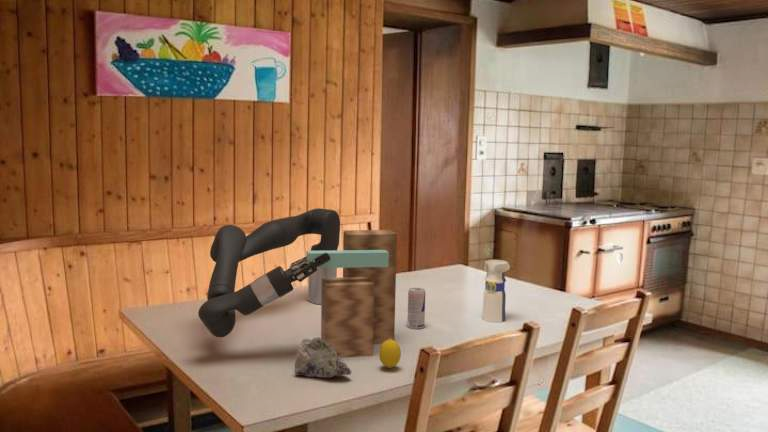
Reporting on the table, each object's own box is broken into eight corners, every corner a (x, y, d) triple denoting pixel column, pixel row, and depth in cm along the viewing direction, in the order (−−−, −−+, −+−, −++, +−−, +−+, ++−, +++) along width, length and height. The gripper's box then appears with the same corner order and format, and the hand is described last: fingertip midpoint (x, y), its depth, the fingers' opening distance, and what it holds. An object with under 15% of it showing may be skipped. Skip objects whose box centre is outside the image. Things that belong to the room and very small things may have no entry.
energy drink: (426, 325, 209) (427, 288, 207) (421, 330, 204) (422, 292, 202) (410, 323, 210) (411, 286, 209) (405, 328, 205) (406, 290, 204)
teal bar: (308, 268, 175) (308, 253, 175) (306, 265, 179) (306, 250, 178) (388, 266, 180) (388, 252, 180) (384, 263, 184) (385, 249, 184)
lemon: (378, 364, 173) (378, 335, 172) (399, 364, 173) (399, 335, 172) (379, 372, 167) (380, 342, 166) (401, 372, 168) (402, 342, 167)
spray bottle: (501, 324, 212) (505, 248, 208) (477, 319, 216) (480, 245, 213) (510, 318, 218) (514, 244, 215) (487, 314, 223) (490, 241, 220)
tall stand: (346, 345, 188) (348, 234, 184) (342, 336, 196) (343, 230, 191) (394, 342, 191) (396, 234, 187) (387, 334, 199) (390, 229, 195)
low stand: (325, 358, 177) (326, 285, 174) (321, 347, 186) (321, 278, 183) (372, 355, 180) (374, 284, 177) (366, 344, 189) (367, 276, 186)
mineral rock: (353, 380, 162) (354, 341, 160) (316, 390, 155) (316, 349, 154) (325, 365, 172) (326, 328, 171) (289, 373, 165) (289, 335, 164)
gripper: (266, 280, 168) (324, 246, 170) (263, 268, 182) (317, 237, 184) (280, 304, 170) (338, 271, 172) (276, 291, 183) (330, 260, 186)
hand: (327, 254), depth 178 cm, fingers closed on teal bar, 4 cm apart
